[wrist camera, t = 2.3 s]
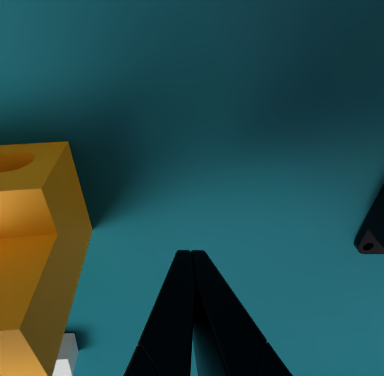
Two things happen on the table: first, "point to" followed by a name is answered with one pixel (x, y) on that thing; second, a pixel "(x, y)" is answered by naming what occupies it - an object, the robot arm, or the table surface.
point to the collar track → (66, 356)
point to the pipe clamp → (38, 253)
